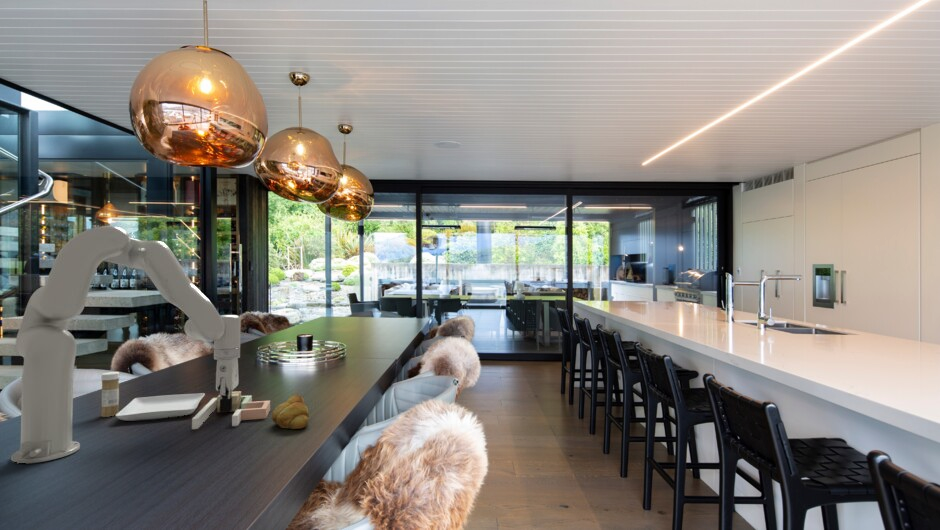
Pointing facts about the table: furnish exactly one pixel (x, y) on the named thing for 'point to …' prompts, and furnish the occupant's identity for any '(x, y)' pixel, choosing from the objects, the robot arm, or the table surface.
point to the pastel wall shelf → (245, 413)
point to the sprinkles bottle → (110, 393)
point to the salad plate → (160, 407)
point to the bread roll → (291, 413)
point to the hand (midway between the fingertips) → (225, 410)
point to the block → (235, 401)
